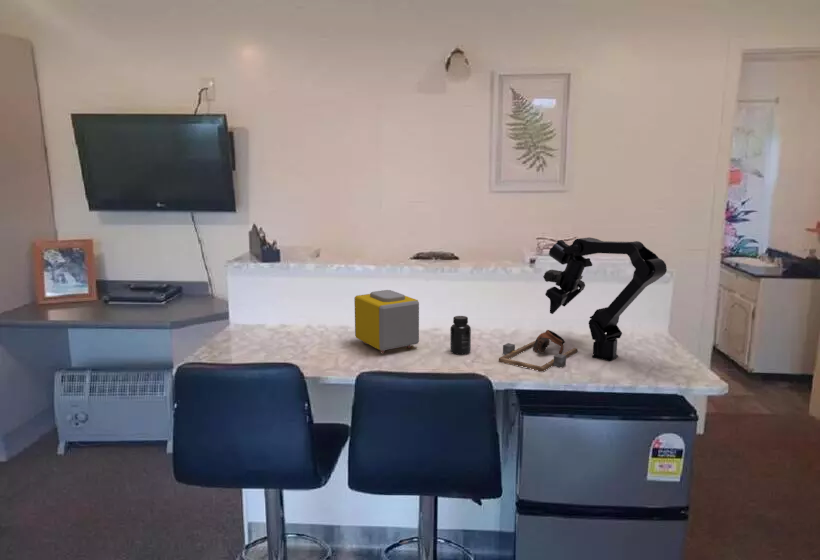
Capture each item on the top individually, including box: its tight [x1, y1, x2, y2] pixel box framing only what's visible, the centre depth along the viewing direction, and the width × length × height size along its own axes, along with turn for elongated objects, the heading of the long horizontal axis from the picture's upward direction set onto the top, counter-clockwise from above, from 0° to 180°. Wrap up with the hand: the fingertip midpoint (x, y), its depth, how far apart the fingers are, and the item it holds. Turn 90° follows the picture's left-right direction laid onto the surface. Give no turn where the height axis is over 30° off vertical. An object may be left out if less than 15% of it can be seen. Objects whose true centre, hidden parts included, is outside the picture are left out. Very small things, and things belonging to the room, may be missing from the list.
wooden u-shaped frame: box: [498, 340, 578, 372], centre depth 196 cm, size 21×25×3 cm
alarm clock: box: [353, 289, 420, 354], centre depth 207 cm, size 20×16×18 cm
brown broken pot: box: [532, 329, 566, 354], centre depth 200 cm, size 12×10×8 cm
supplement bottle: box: [449, 315, 472, 356], centre depth 200 cm, size 7×7×12 cm
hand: (557, 309), depth 210 cm, fingers open, 9 cm apart
